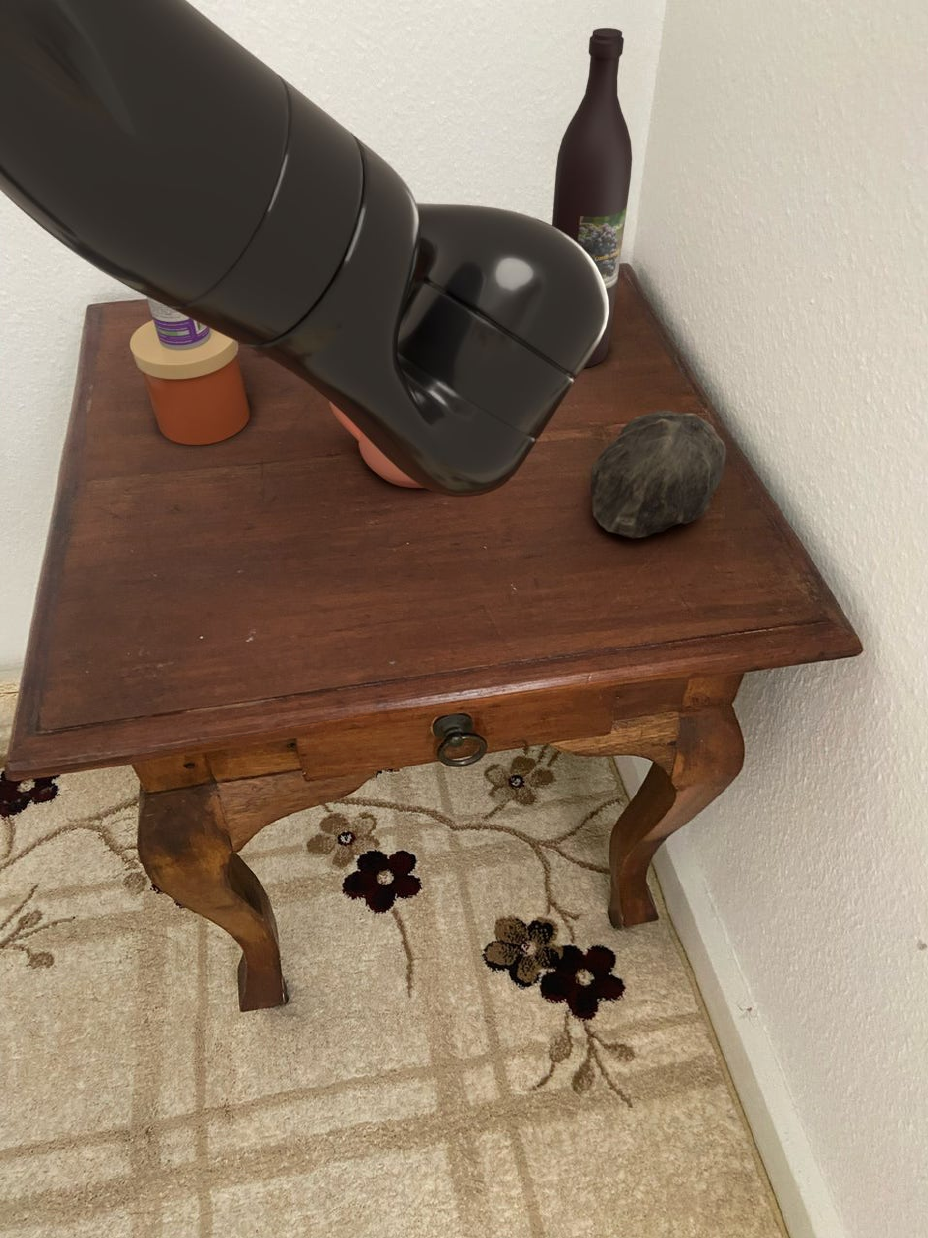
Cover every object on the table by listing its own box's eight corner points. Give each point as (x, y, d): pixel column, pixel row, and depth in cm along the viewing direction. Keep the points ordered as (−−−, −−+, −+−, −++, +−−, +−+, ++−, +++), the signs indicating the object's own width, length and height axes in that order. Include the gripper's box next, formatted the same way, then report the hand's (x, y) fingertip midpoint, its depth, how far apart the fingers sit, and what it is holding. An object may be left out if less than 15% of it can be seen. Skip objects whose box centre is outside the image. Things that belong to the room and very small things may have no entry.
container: (192, 318, 83) (150, 150, 72) (220, 337, 81) (181, 165, 70) (149, 337, 81) (98, 166, 70) (177, 356, 78) (129, 182, 67)
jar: (155, 453, 84) (128, 370, 77) (155, 398, 90) (130, 317, 83) (256, 439, 85) (238, 357, 78) (249, 386, 91) (232, 305, 85)
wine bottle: (562, 376, 92) (591, 48, 70) (531, 344, 97) (550, 26, 75) (619, 361, 94) (666, 37, 72) (587, 330, 99) (621, 16, 76)
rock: (565, 526, 75) (595, 425, 68) (610, 469, 83) (641, 373, 76) (674, 574, 72) (717, 474, 66) (710, 510, 80) (751, 415, 73)
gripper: (382, 98, 42) (224, 26, 51) (102, 171, 36) (-24, 75, 45) (392, 250, 48) (248, 162, 56) (150, 335, 42) (30, 221, 51)
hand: (128, 123), depth 51 cm, fingers open, 8 cm apart
